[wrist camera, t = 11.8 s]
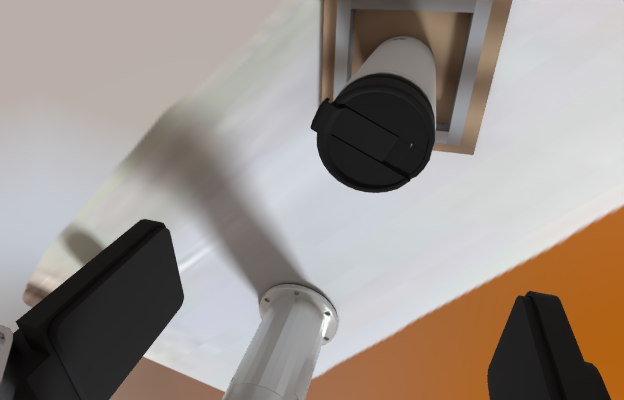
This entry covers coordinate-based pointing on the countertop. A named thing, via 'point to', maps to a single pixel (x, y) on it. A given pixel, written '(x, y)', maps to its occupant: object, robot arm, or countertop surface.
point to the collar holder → (439, 38)
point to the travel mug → (381, 118)
